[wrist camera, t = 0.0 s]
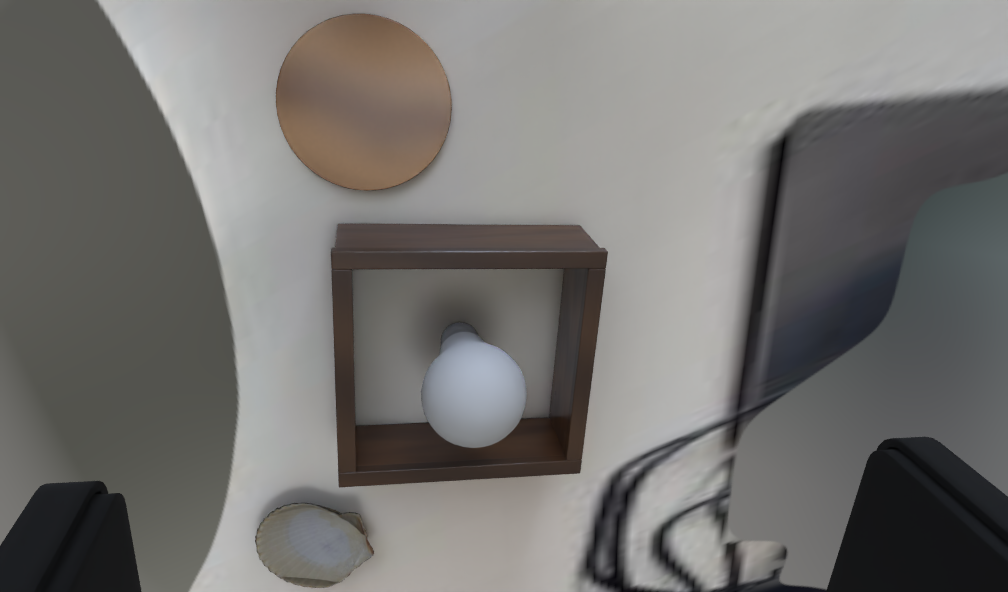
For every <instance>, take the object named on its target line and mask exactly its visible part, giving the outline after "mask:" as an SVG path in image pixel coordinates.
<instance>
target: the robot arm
mask: <svg viewBox="0 0 1008 592" xmlns="http://www.w3.org/2000/svg"><path fill="white" fill-rule="evenodd" d="M0 592H141V587H140V581H139V575H138V570H137V564H136V559H135V554H134V547H133V542H132V536H131V530H130V525H129V520H128V513H127V508H126V503H125V499H124V497H123V495H122V494H120V493H114V494H108V491H107V488H106V486H105V484H104V483H103V482H101V481H88V482H69V483H50V484H44V485H42V486H40V487H39V488H38V490H37V491H36V492H35V493H34V495H33V496H32V498H31V499H30V501H29V503H28V504H27V506H26V507H25V509H24V510H23V512H22V513H21V515H20V516H19V518H18V519H17V521H16V522H15V524H14V525H13V527H12V529H11V530H10V532H9V533H8V535H7V536H6V538H5V540H4V541H3V542H2V544H1V546H0ZM826 592H1008V497H1007V496H1006V495H1005V494H1004V493H1002V492H1001V491H1000V490H999V489H997V488H996V487H995V486H994V485H992V484H991V483H990V482H988V481H987V480H986V479H985V478H984V477H982V476H981V475H980V474H979V473H977V472H976V471H975V470H974V469H973V468H971V467H970V466H969V465H967V464H966V463H965V462H964V461H962V460H961V459H960V458H959V457H957V456H956V455H955V454H954V453H953V452H951V451H950V450H949V449H948V448H946V447H945V446H944V445H942V444H941V443H940V442H938V441H937V440H935V439H933V438H929V437H911V438H893V439H887V440H884V441H883V442H882V443H881V444H880V445H879V446H878V448H877V451H874V452H873V453H872V454H871V455H870V457H869V459H868V461H867V464H866V467H865V470H864V473H863V476H862V480H861V483H860V486H859V489H858V493H857V495H856V499H855V502H854V506H853V508H852V512H851V515H850V518H849V521H848V524H847V527H846V531H845V534H844V537H843V540H842V544H841V547H840V550H839V553H838V556H837V559H836V563H835V566H834V569H833V572H832V575H831V578H830V582H829V585H828V588H827V591H826Z"/></svg>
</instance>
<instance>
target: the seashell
mask: <svg viewBox="0 0 1008 592" xmlns="http://www.w3.org/2000/svg"><path fill="white" fill-rule="evenodd" d="M255 538H256V540H255V542H256V545H257V553H258V554H259V558H260V560H262V562H263V564H264V565H265V566H266V567H267V568H268V569H269V571H270V572H273V573H274V574H275V575H277V576H278V577H279V578H281V579H283V580H285V581H286V582H291V583H293V584H295V585H300V586H303V587H312V588H326V587H330V586H333V585H334V584H337V583H340V582H342V581H343V580H344V579H345V578H346V577H348V576H349V575H350V573H351V572H352V571H353V570H354V569H355V568H357V567H359V566H360V565H361V564H362V563H363V562H365V561H366V560H368V559H369V558H371V556H372V555H373V554H374V551H373V548H372V547H371V545H370V543H369V542H368V539H367V533H366V530H365V529H364V527H363V523H362V520H361V517H360V515H359V514H357V513H352V512H349V513H344V514H342V513H340V512H338V511H336V510H332V509H329V508H326V507H323V506H319V505H314V504H310V503H300V504H298V503H293V504H290V505H285V506H282V507H280V508H277V509H276V510H275V511H273V512H271V513H270V514H269V515H268V516H267V517H266V518H265V519H264V520H263V522H261V524H260V526H259V528H258V530H257V536H255Z"/></svg>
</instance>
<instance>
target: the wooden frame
mask: <svg viewBox="0 0 1008 592" xmlns="http://www.w3.org/2000/svg"><path fill="white" fill-rule="evenodd" d="M607 255H608V251H607V250H606V249H605V248H599V246H598V245H597V244H596V243H595V242H594V241H593V240H592V239H591V237H590V236H589V235H588V234H587V233H586V232H585V231H584V229H583V228H582V227H581V226H580V225H454V224H338V225H337V233H336V242H335V247H333V248H332V249H331V265H332V296H333V326H334V357H335V387H336V417H337V447H338V477H339V487H353V486H371V485H388V484H405V483H422V482H439V481H456V480H474V479H491V478H508V477H525V476H542V475H559V474H577V473H580V470H581V462H582V460H581V459H582V452H583V445H584V437H585V429H586V421H587V413H588V405H589V397H590V389H591V381H592V373H593V365H594V357H595V349H596V342H597V334H598V326H599V318H600V310H601V302H602V294H603V286H604V278H605V270H606V269H605V268H606V263H607ZM352 269H564V277H563V287H562V297H561V306H560V316H559V326H558V336H557V346H556V355H555V365H554V375H553V385H552V394H551V404H550V414H549V418H530V419H520V421H519V423H518V424H517V426H516V427H515V428H514V430H513V431H512V432H510V433H509V434H508V435H507V436H506V437H505V438H503V439H502V440H500V441H499V442H497V443H494V444H492V445H489V446H485V447H479V448H469V447H462V446H459V445H455V444H453V443H450V442H448V441H446V440H445V439H444V438H442V437H441V436H440V435H439V434H438V433H437V432H436V431H435V430H434V429H433V428H432V427H431V425H430V423H414V424H391V425H368V426H355V380H354V333H353V286H352Z"/></svg>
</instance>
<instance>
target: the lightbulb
mask: <svg viewBox="0 0 1008 592" xmlns="http://www.w3.org/2000/svg"><path fill="white" fill-rule="evenodd" d="M421 401H422V407H423V411H424V414H425V416H426V418H427V420H428V421H429V423H430V425H431V427H432V428H433V429H434V430H435V431H436V432H437V433H438V434H439V435H440V436H441V437H442V438H444V439H445V440H446V441H448V442H450V443H453V444H455V445H459V446H462V447H469V448H479V447H485V446H489V445H492V444H494V443H497V442H499V441H500V440H502V439H503V438H505V437H506V436H507V435H508V434H509V433H510V432H512V431H513V430H514V428H515V427H516V426H517V424H518V423H519V421H520V419H521V417H522V415H523V412H524V408H525V405H526V384H525V379H524V377H523V374H522V372H521V370H520V368H519V366H518V365H517V363H516V362H515V361H514V360H513V359H512V358H511V357H510V356H509V355H508V354H507V353H506V352H505V351H503V350H502V349H500V348H498V347H496V346H494V345H490V344H487V343H485V342H484V341H483V340H482V339H481V338H480V337H479V335H478V333H477V332H476V330H475V329H474V328H473V327H472V326H471V325H469V324H467V323H462V322H460V323H454V324H452V325H450V326H448V327H447V328H446V329H445V330H444V332H443V334H442V337H441V348H440V352H439V356H438V357H437V358H436V359H435V360H434V361H433V362H432V364H431V365H430V367H429V368H428V370H427V372H426V375H425V377H424V380H423V384H422V389H421Z"/></svg>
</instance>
